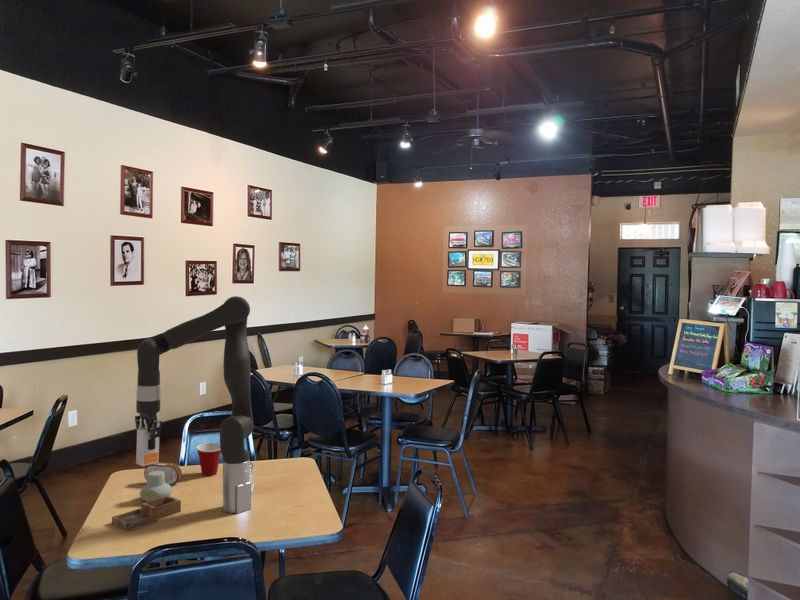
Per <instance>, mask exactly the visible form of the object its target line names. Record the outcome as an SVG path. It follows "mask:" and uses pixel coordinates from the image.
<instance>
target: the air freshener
mask: <svg viewBox="0 0 800 600" xmlns="http://www.w3.org/2000/svg"><path fill="white" fill-rule="evenodd" d="M146 482H147V483H146V485H144V486H143V487H142V488H141V489H140V492H139V496H140V498H141V499H142V500H143V501H145V502H148V501H151V500H154V499H158V498H161V497H164V496H171V495H172V493H173V488H172V485H169V484H167V483H165V473H164V472H163V471H153V472H150V473H148V475H147V480H146Z"/></svg>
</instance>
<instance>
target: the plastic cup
mask: <svg viewBox="0 0 800 600" xmlns="http://www.w3.org/2000/svg"><path fill="white" fill-rule="evenodd" d="M195 449H196V451H197V453H198V459H199V464H200V468H201V469H200V470H201V475H202V476H204V477H212V476H216V475H217V472H218V469H219V466H220V465H219V463H220V460H221V459H220V458H221V455H222V454H221V451H220V442H205V443H200V444H198V445H196V448H195Z"/></svg>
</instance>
